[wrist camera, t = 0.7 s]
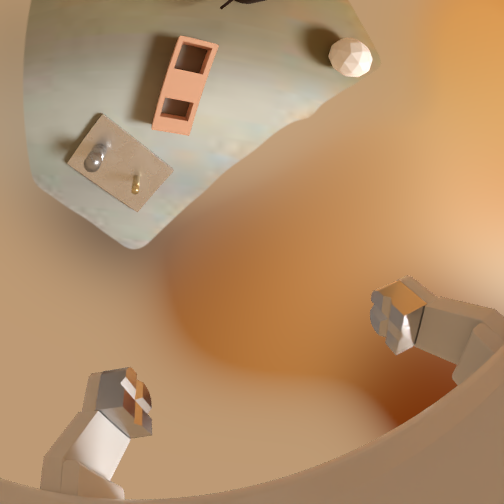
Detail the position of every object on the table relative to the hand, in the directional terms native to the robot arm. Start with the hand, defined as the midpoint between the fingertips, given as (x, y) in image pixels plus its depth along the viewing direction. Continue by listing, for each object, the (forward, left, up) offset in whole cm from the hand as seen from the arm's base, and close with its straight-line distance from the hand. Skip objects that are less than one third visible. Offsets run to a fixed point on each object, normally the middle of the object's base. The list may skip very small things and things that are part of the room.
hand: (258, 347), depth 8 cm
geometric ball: (-20, +26, -42) cm, 53 cm away
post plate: (+10, -6, -42) cm, 44 cm away
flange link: (-5, +1, -42) cm, 42 cm away
